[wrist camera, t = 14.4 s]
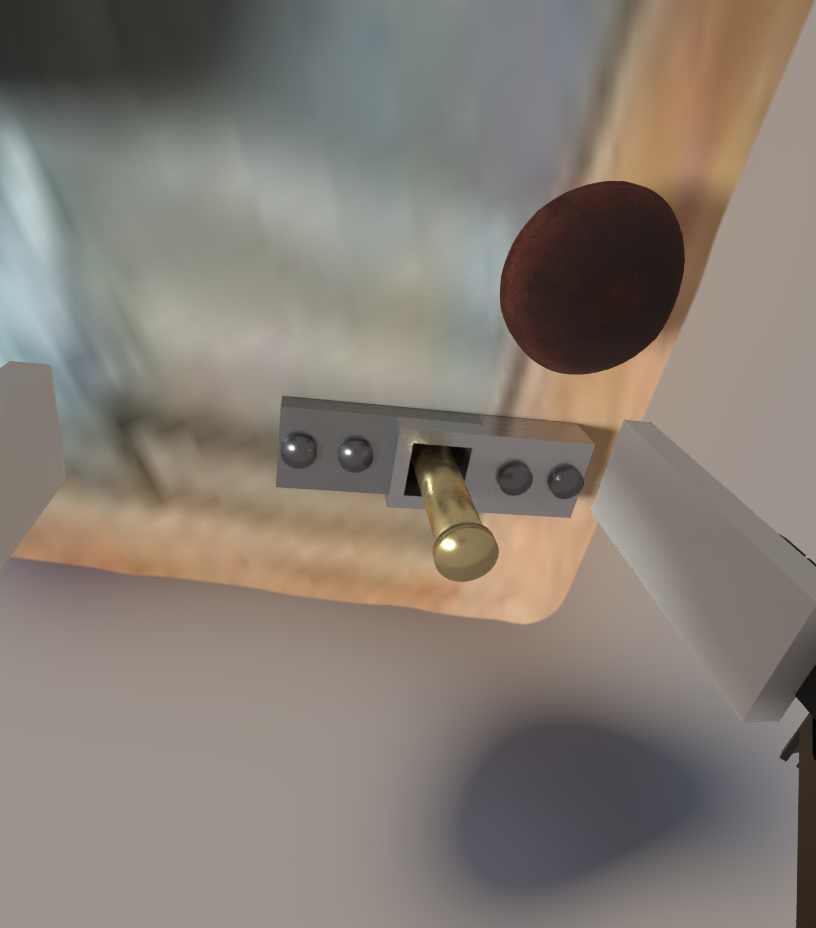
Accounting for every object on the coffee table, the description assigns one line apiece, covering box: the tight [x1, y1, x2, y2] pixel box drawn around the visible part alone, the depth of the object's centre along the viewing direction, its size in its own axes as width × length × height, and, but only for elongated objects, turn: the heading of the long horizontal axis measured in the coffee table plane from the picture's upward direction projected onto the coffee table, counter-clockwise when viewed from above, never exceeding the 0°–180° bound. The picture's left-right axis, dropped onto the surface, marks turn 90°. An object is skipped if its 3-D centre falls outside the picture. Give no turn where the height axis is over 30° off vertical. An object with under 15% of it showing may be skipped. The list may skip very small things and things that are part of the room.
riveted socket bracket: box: [276, 396, 595, 518], centre depth 49 cm, size 25×7×5 cm, turn 81°
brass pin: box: [411, 443, 499, 582], centre depth 44 cm, size 4×4×15 cm
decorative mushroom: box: [500, 181, 685, 374], centre depth 37 cm, size 11×11×15 cm
